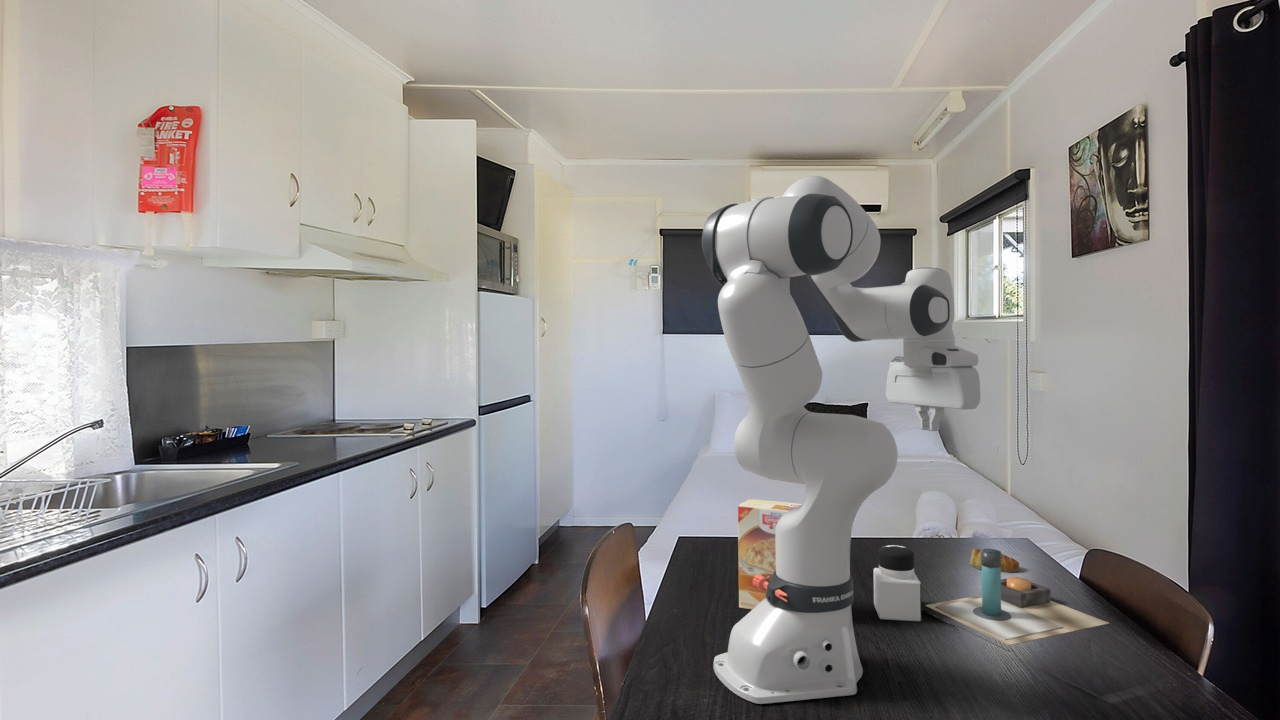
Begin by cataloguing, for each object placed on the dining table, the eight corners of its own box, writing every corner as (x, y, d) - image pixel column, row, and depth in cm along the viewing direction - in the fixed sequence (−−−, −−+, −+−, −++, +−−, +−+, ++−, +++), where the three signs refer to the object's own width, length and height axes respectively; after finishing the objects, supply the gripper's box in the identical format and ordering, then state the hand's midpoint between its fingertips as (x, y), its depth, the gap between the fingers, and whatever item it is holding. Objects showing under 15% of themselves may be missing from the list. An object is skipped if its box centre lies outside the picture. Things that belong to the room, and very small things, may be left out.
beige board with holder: (1008, 651, 106) (1007, 629, 106) (924, 610, 123) (924, 591, 123) (1109, 628, 114) (1109, 608, 114) (1018, 593, 131) (1018, 575, 131)
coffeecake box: (738, 608, 126) (736, 505, 126) (750, 595, 133) (748, 497, 132) (817, 621, 119) (816, 513, 119) (826, 608, 126) (825, 504, 125)
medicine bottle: (921, 622, 118) (920, 554, 118) (879, 619, 120) (878, 553, 120) (913, 607, 125) (912, 543, 125) (873, 604, 127) (872, 541, 127)
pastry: (1020, 567, 147) (1020, 550, 147) (1017, 577, 141) (1017, 559, 141) (972, 560, 152) (972, 544, 152) (968, 569, 146) (968, 552, 146)
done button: (1020, 601, 123) (1020, 585, 123) (1001, 594, 127) (1001, 578, 127) (1036, 598, 125) (1036, 582, 125) (1017, 591, 128) (1017, 575, 128)
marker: (992, 617, 116) (991, 554, 116) (977, 611, 119) (976, 550, 119) (1006, 615, 117) (1005, 552, 117) (991, 608, 120) (990, 547, 120)
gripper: (877, 356, 133) (878, 425, 133) (958, 356, 114) (958, 437, 114) (903, 355, 135) (904, 424, 136) (986, 356, 116) (987, 435, 116)
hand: (929, 430), depth 125 cm, fingers closed
